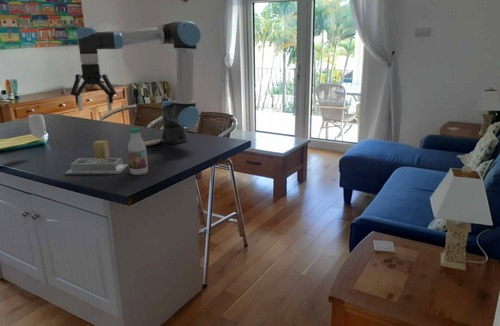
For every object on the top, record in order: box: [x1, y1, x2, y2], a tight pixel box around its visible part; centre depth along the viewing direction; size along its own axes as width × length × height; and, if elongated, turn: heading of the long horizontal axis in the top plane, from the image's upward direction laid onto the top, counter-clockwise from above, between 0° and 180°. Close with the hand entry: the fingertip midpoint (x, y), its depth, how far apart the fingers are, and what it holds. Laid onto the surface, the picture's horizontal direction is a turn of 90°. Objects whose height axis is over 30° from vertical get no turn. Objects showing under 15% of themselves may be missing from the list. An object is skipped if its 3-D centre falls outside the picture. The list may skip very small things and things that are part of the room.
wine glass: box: [28, 113, 46, 139], centre depth 202 cm, size 7×7×21 cm
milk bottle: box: [127, 127, 149, 176], centre depth 176 cm, size 8×8×20 cm
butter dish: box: [65, 157, 129, 175], centre depth 182 cm, size 24×12×4 cm, turn 89°
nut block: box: [92, 139, 111, 158], centre depth 193 cm, size 5×5×10 cm
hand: (95, 110), depth 188 cm, fingers open, 13 cm apart
